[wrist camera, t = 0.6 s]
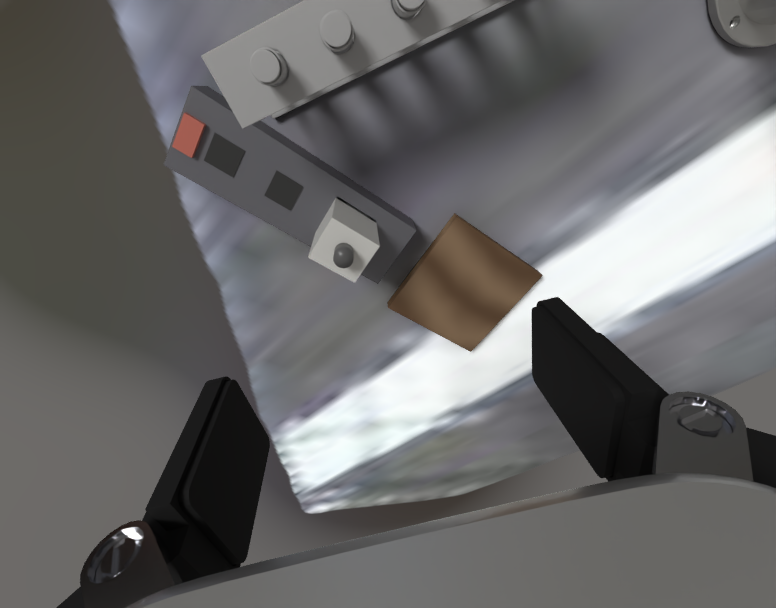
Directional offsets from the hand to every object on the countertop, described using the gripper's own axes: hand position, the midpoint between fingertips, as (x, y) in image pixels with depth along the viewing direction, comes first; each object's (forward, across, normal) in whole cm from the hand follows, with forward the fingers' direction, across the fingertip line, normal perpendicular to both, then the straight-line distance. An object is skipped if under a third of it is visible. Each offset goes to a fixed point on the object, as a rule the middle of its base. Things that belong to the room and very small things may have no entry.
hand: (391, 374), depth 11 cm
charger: (+28, +2, +3) cm, 28 cm away
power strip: (+29, +5, 0) cm, 30 cm away
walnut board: (+29, -9, +14) cm, 34 cm away
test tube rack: (+29, -6, -12) cm, 32 cm away
